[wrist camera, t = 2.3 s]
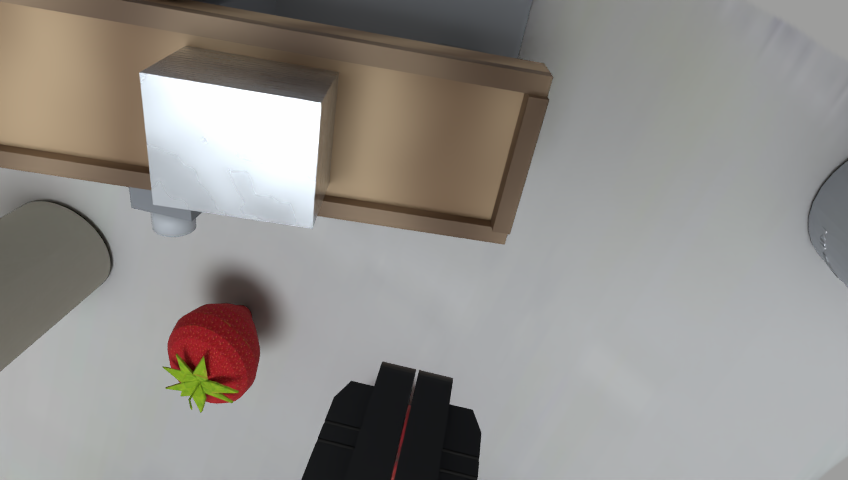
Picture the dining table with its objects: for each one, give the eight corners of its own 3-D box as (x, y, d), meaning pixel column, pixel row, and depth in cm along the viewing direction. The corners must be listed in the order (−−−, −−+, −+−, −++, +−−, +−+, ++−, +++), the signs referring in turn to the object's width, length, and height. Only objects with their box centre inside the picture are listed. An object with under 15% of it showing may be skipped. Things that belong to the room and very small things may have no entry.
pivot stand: (540, -35, 28) (548, -12, 19) (480, 203, 35) (464, 306, 26) (-8, -145, 30) (-255, -176, 20) (42, 105, 37) (-122, 169, 27)
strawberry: (269, 268, 41) (201, 360, 32) (293, 346, 44) (239, 448, 36) (197, 270, 42) (114, 360, 33) (227, 346, 46) (159, 444, 37)
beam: (543, 63, 23) (557, 83, 21) (499, 221, 27) (506, 255, 25) (-278, -84, 21) (-377, -82, 18) (-192, 114, 25) (-264, 138, 22)
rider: (338, 71, 22) (321, 102, 19) (329, 183, 25) (312, 228, 21) (185, 45, 21) (139, 72, 18) (192, 161, 24) (152, 204, 21)
